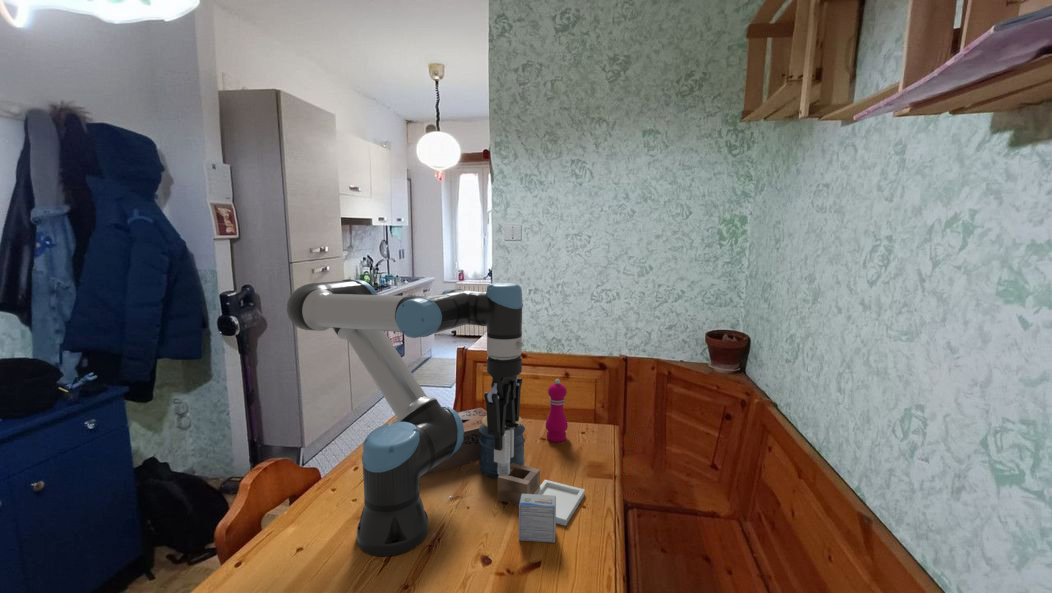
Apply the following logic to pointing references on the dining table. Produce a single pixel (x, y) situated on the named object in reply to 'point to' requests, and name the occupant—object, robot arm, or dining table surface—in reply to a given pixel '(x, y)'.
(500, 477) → the square hollow frame
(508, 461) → the pin
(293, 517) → the dining table surface
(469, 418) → the tissue box cover
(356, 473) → the dining table surface
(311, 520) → the dining table surface
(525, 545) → the dining table surface
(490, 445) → the canister
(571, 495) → the tray
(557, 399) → the pepper mill
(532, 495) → the medicine box
